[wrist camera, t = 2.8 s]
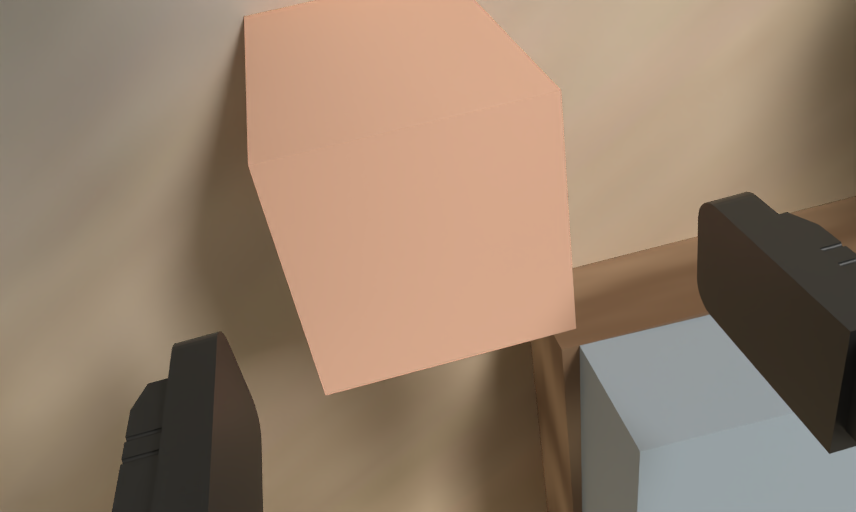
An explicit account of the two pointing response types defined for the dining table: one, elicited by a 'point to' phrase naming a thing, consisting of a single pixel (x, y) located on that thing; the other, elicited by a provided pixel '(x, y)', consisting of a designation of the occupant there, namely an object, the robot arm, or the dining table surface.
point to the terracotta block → (408, 182)
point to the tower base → (619, 315)
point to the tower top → (697, 431)
